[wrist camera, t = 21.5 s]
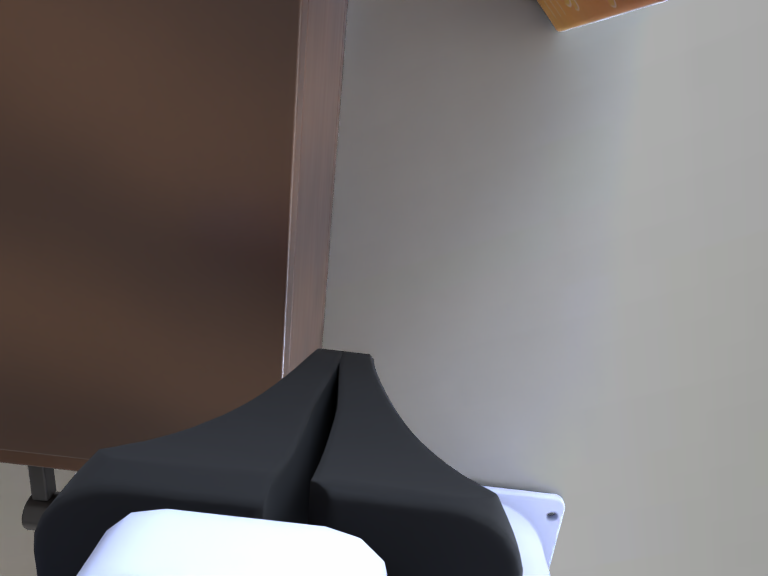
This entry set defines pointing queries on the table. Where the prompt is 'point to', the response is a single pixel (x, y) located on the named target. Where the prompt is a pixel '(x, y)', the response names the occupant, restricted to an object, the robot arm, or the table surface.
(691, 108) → the table surface
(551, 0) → the small box
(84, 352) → the cabinet
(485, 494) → the robot arm
